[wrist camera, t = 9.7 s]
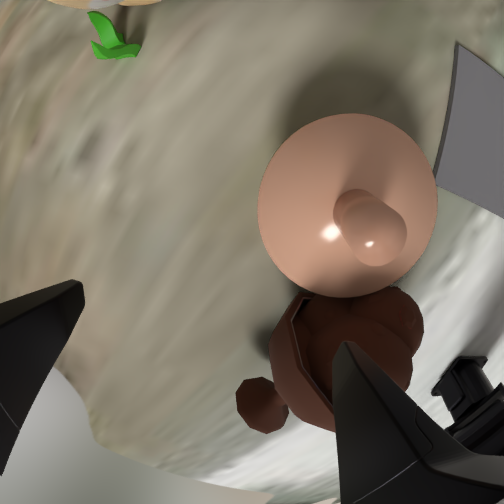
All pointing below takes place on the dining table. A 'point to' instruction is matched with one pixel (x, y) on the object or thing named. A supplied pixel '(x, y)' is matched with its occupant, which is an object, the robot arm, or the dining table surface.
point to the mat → (473, 134)
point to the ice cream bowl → (329, 354)
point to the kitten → (107, 27)
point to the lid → (347, 205)
